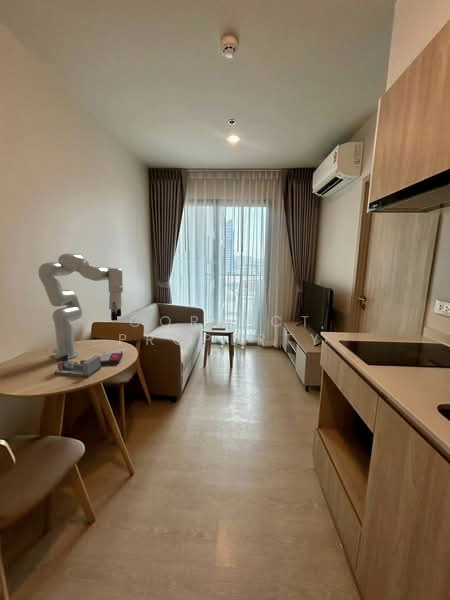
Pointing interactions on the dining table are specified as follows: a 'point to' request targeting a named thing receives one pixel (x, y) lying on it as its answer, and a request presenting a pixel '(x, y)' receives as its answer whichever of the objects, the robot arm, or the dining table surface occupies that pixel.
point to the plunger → (65, 361)
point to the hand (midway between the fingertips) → (116, 318)
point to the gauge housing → (82, 368)
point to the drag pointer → (60, 366)
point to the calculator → (111, 358)
